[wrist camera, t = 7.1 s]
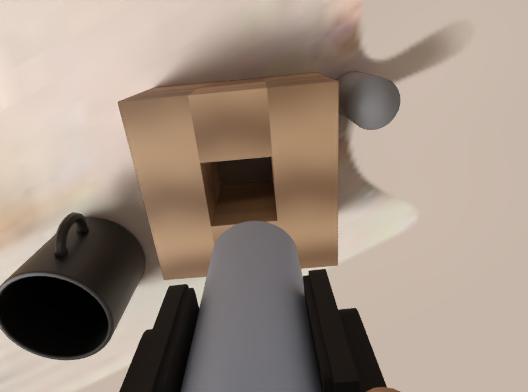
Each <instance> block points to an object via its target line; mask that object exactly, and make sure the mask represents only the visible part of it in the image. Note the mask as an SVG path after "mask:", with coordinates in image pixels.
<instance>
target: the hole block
mask: <svg viewBox="0 0 528 392" xmlns="http://www.w3.org/2000/svg"><path fill="white" fill-rule="evenodd" d="M338 97H339V81H337V80H334V79H332V78H329V77H327V76H325V75H322V74H320V73H306V74H296V75H285V76H274V77H264V78H253V79H243V80H232V81H221V82H211V83H200V84H189V85H179V86H168V87H158V88H152V89H149V90H147V91H144V92H142V93H139V94H137V95H134V96H131V97H129V98H126V99H124V100H121V101H119V102H118V106H119V110H120V114H121V117H122V121H123V125H124V129H125V133H126V137H127V140H128V144H129V148H130V152H131V156H132V160H133V163H134V167H135V171H136V175H137V179H138V183H139V186H140V190H141V194H142V198H143V202H144V206H145V209H146V213H147V217H148V221H149V225H150V229H151V232H152V236H153V240H154V244H155V248H156V252H157V255H158V259H159V263H160V267H161V271H162V275H163V278H164V280H170V279H182V278H194V277H206V276H207V274H208V269H209V265H210V261H211V256H212V252H213V248H214V245H215V243H216V241H217V240H218V238H219V237H220V236H221V235H222V234H223V233H224V232H225V231H226V230H227V229H229V228H230V227H232V226H234V225H237V224H239V223H243V222H248V221H262V222H267V223H271V224H274V225H276V226H278V227H280V228H281V229H283V230H284V231H285V232H287V233H288V234H289V236H290V237H291V238H292V239H293V241H294V243H295V245H296V248H297V252H298V257H299V262H300V267H301V268H313V267H325V266H337V265H338ZM262 157H271V165H272V178H273V181H270V182H259V183H248V184H236V185H225V186H221V180H220V174H219V167H218V161H229V160H240V159H251V158H262Z"/></svg>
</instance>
